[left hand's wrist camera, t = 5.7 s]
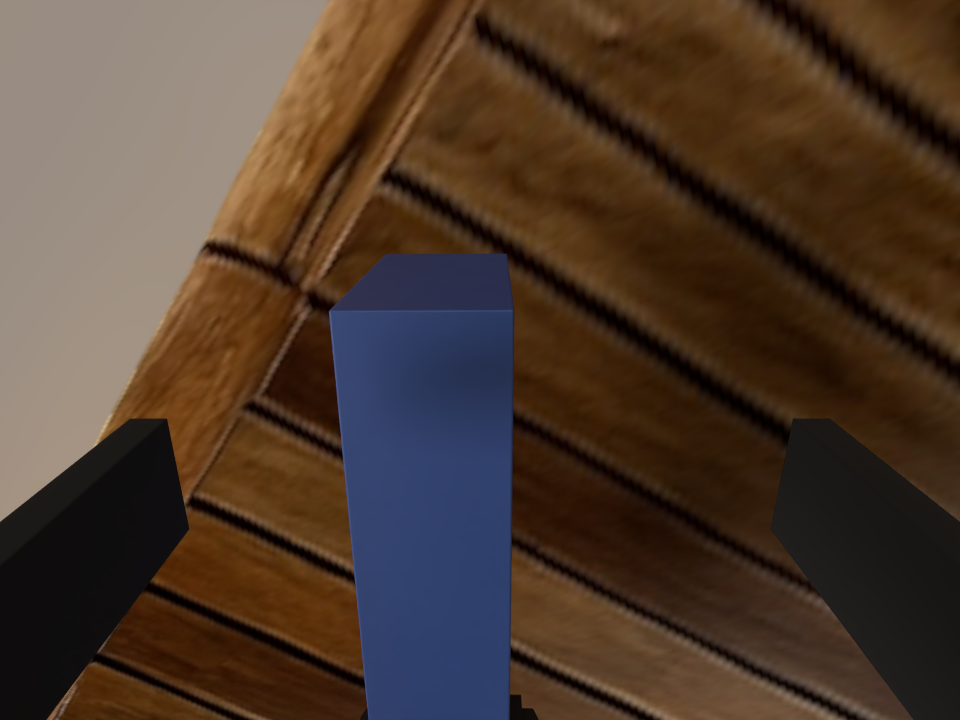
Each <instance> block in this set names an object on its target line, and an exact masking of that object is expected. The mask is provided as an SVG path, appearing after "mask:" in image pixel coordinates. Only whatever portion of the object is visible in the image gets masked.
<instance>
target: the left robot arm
mask: <svg viewBox="0 0 960 720" xmlns="http://www.w3.org/2000/svg"><path fill="white" fill-rule="evenodd" d="M188 530H189V525H188V521H187V516H186V511H185V506H184V501H183V496H182V491H181V486H180V481H179V476H178V471H177V466H176V461H175V456H174V451H173V446H172V441H171V436H170V432H169V427H168V422H167V419H129V420H128V421H127V422H126V423H124V424H123V425H122V426H121V427H119V428H118V429H117V430H116V431H114V432H113V433H112V434H110V435H109V436H108V437H107V438H105V439H104V440H103V441H102V442H100V443H99V444H98V445H97V446H95V447H94V448H93V449H92V450H90V451H89V452H88V453H87V454H85V455H84V456H83V457H82V458H80V459H79V460H78V461H76V462H75V463H74V464H73V465H71V466H70V467H69V468H68V469H66V470H65V471H64V472H63V473H61V474H60V475H59V476H58V477H56V478H55V479H54V480H52V481H51V482H50V483H49V484H47V485H46V486H45V487H44V488H42V489H41V490H40V491H39V492H37V493H36V494H35V495H34V496H32V497H31V498H30V499H29V500H27V501H26V502H25V503H24V504H22V505H21V506H20V507H18V508H17V509H16V510H15V511H13V512H12V513H11V514H10V515H8V516H7V517H6V518H5V519H3V520H2V521H1V522H0V720H46V719H47V718H48V717H49V715H50V714H51V713H52V711H53V710H54V709H55V707H56V706H57V705H58V703H59V702H60V701H61V699H62V698H63V697H64V695H65V694H66V693H67V691H68V690H69V689H70V687H71V686H72V685H73V683H74V682H75V681H76V679H77V678H78V677H79V675H80V674H81V673H82V671H83V670H84V669H85V667H86V666H87V665H88V663H89V662H90V661H91V659H92V658H93V657H94V655H95V654H96V653H97V651H98V650H99V649H100V647H101V646H102V645H103V643H104V642H105V641H106V639H107V638H108V637H109V635H110V634H111V633H112V631H113V630H114V629H115V627H116V626H117V625H118V623H119V622H120V621H121V619H122V618H123V617H124V615H125V614H126V613H127V611H128V610H129V609H130V607H131V606H132V605H133V603H134V602H135V601H136V599H137V598H138V597H139V595H140V594H141V593H142V591H143V590H144V589H145V587H146V586H147V585H148V583H149V582H150V581H151V579H152V578H153V577H154V575H155V574H156V573H157V571H158V570H159V569H160V567H161V566H162V565H163V563H164V562H165V561H166V559H167V558H168V557H169V555H170V554H171V553H172V551H173V550H174V549H175V547H176V546H177V545H178V543H179V542H180V541H181V539H182V538H183V537H184V535H185V534H186V533H187V531H188ZM771 530H772V531H773V533H774V534H775V535H776V537H777V538H778V539H779V541H780V542H781V543H782V545H783V546H784V547H785V549H786V550H787V551H788V553H789V554H790V555H791V557H792V558H793V559H794V561H795V562H796V563H797V565H798V566H799V567H800V569H801V570H802V571H803V573H804V574H805V575H806V577H807V578H808V579H809V581H810V582H811V583H812V585H813V586H814V587H815V589H816V590H817V591H818V593H819V594H820V595H821V597H822V598H823V599H824V601H825V602H826V603H827V605H828V606H829V607H830V609H831V610H832V611H833V613H834V614H835V615H836V617H837V618H838V619H839V621H840V622H841V623H842V625H843V626H844V627H845V629H846V630H847V631H848V633H849V634H850V635H851V637H852V638H853V639H854V641H855V642H856V643H857V645H858V646H859V647H860V649H861V650H862V651H863V653H864V654H865V655H866V657H867V658H868V659H869V661H870V662H871V663H872V665H873V666H874V667H875V669H876V670H877V671H878V673H879V674H880V675H881V677H882V678H883V679H884V681H885V682H886V683H887V685H888V686H889V687H890V689H891V690H892V691H893V693H894V694H895V695H896V697H897V698H898V699H899V701H900V702H901V703H902V705H903V706H904V707H905V709H906V710H907V711H908V713H909V714H910V715H911V717H912V718H913V719H914V720H960V522H959V521H958V520H957V519H955V518H954V517H953V516H952V515H950V514H949V513H948V512H947V511H945V510H944V509H943V508H942V507H940V506H939V505H938V504H937V503H935V502H934V501H933V500H931V499H930V498H929V497H928V496H926V495H925V494H924V493H923V492H921V491H920V490H919V489H918V488H916V487H915V486H914V485H913V484H911V483H910V482H909V481H908V480H906V479H905V478H904V477H902V476H901V475H900V474H899V473H897V472H896V471H895V470H894V469H892V468H891V467H890V466H889V465H887V464H886V463H885V462H884V461H882V460H881V459H880V458H879V457H877V456H876V455H875V454H873V453H872V452H871V451H870V450H868V449H867V448H866V447H865V446H863V445H862V444H861V443H860V442H858V441H857V440H856V439H855V438H853V437H852V436H851V435H850V434H848V433H847V432H846V431H844V430H843V429H842V428H841V427H839V426H838V425H837V424H836V423H834V422H833V421H832V420H831V419H793V422H792V427H791V432H790V436H789V441H788V446H787V451H786V456H785V461H784V466H783V471H782V476H781V481H780V486H779V491H778V496H777V501H776V506H775V511H774V516H773V521H772V525H771Z"/></svg>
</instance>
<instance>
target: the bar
mask: <svg viewBox="0 0 960 720" xmlns="http://www.w3.org/2000/svg"><path fill="white" fill-rule="evenodd" d="M329 317H330V327H331V337H332V348H333V358H334V368H335V378H336V389H337V399H338V409H339V420H340V430H341V440H342V451H343V461H344V471H345V481H346V492H347V502H348V512H349V523H350V533H351V543H352V553H353V564H354V574H355V584H356V595H357V605H358V615H359V625H360V636H361V646H362V656H363V667H364V677H365V687H366V697H367V708H368V718H369V720H510V639H511V551H512V464H513V376H514V306H513V298H512V291H511V283H510V275H509V268H508V260H507V254H387V255H385V256H384V257H383V258H382V259H381V260H380V261H379V262H378V263H377V264H376V265H375V266H374V267H373V268H372V269H371V270H370V271H369V272H368V273H367V274H366V275H365V276H364V277H363V278H362V279H361V280H360V281H359V282H358V283H357V284H356V285H355V286H354V287H353V288H352V289H351V290H350V291H349V292H348V293H347V294H346V295H345V296H344V297H343V298H342V299H341V300H340V301H339V302H338V303H337V304H336V305H335V306H334V307H333V308H332V309H331V310H330V311H329Z"/></svg>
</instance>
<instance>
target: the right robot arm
mask: <svg viewBox="0 0 960 720" xmlns="http://www.w3.org/2000/svg"><path fill="white" fill-rule="evenodd" d="M360 720H369V718H368V708H367V709H366V710H365V712H364V713H363V715H362V716H361V719H360ZM510 720H538V718H537V716H536V714H535V712H534V710H533V709H532V708H522V704H521V695H510Z"/></svg>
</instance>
